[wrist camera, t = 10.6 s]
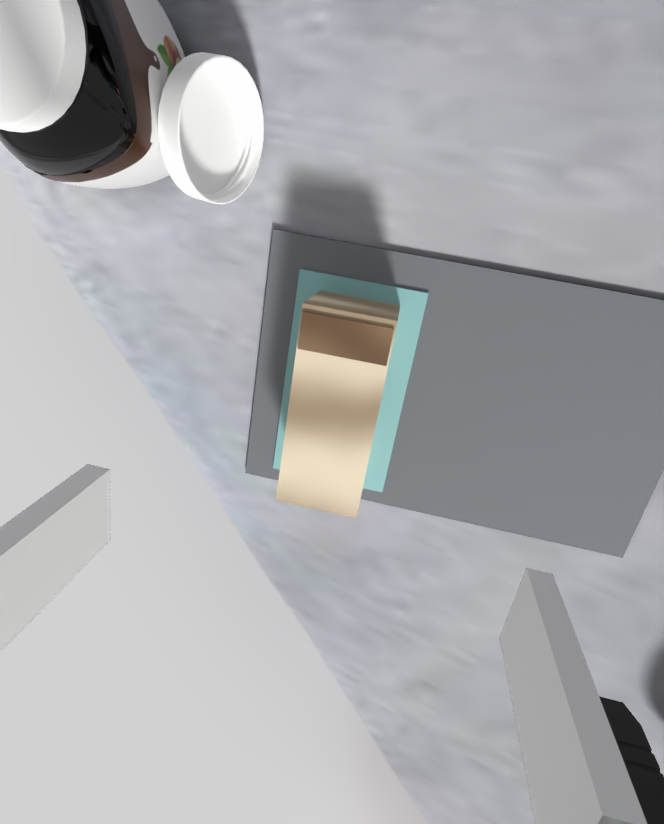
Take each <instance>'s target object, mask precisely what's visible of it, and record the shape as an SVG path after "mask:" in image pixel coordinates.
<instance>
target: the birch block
mask: <svg viewBox="0 0 664 824" xmlns="http://www.w3.org/2000/svg"><path fill="white" fill-rule="evenodd" d="M399 310H400V305H397V304H391V303H386V302H381V301H375V300H370V299H364V298H359V297H354V296H348V295H343V294H338V293H332V292H327V291H319V292H318V293H316V294H315V295H313V296H312V297H311V298H309V299H308V300H306V301H305V302H303V303H302V311H301V318H300V325H299V333H298V340H297V347H296V355H295V362H294V369H293V377H292V384H291V391H290V399H289V406H288V414H287V421H286V428H285V436H284V443H283V450H282V458H281V465H280V472H279V480H278V487H277V495H276V500H277V501H281V502H286V503H290V504H295V505H299V506H304V507H308V508H313V509H317V510H321V511H326V512H330V513H335V514H339V515H344V516H348V517H353V518H357V514H358V509H359V504H360V499H361V494H362V490H363V485H364V480H365V475H366V470H367V466H368V461H369V456H370V451H371V447H372V442H373V437H374V432H375V427H376V423H377V418H378V413H379V408H380V403H381V399H382V394H383V389H384V384H385V380H386V375H387V370H388V365H389V360H390V356H391V351H392V346H393V341H394V336H395V332H396V327H397V322H398V316H399Z"/></svg>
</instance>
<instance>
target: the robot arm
mask: <svg viewBox="0 0 664 824" xmlns="http://www.w3.org/2000/svg"><path fill="white" fill-rule="evenodd" d="M109 541H110V469H107V468H102V467H98V466H94V465H89V464H87V465H86V466H84V467H83V468H82V469H80V470H79V471H77V472H76V473H75V474H73V475H72V476H71V477H69V478H68V479H66V480H65V481H64V482H63V483H61V484H59V485H58V486H57V487H55V488H54V489H53V490H51V491H50V492H48V493H47V494H46V495H44V496H43V497H42V498H40V499H39V500H37V501H36V502H35V503H33V504H32V505H31V506H30V507H28V508H27V509H25V510H24V511H22V512H21V513H20V514H18V515H17V516H15V517H14V518H13V519H11V520H10V521H8V522H7V523H6V524H4V525H3V526H2V527H0V653H1V652H2V651H3V650H4V649H5V648H6V647H7V646H8V644H10V643H11V641H12V640H13V639H14V638H15V637H16V636H17V635H18V634H19V633H20V632H21V631H22V630H23V629H24V628H25V627H26V626H27V625H28V624H29V623H30V622H31V621H32V620H33V619H34V618H35V617H36V616H37V615H38V614H39V613H40V612H41V611H42V610H43V609H44V608H45V607H46V605H48V604H49V602H51V600H52V599H53V598H54V597H55V596H56V595H57V594H58V593H59V592H60V591H61V590H62V589H63V588H64V587H65V586H66V585H67V584H68V583H69V582H70V581H71V580H72V579H73V578H74V577H75V576H76V575H77V574H78V573H79V572H80V571H81V570H82V569H83V568H84V567H85V566H86V565H87V564H88V563H89V562H90V560H91V559H92V558H93V557H94V556H95V555H96V554H97V553H98V552H99V551H100V550H101V549H102V548H103V547H104V546H105V545H106V544H107V543H108V542H109ZM499 639H500V644H501V649H502V654H503V659H504V665H505V670H506V675H507V680H508V685H509V691H510V696H511V701H512V706H513V711H514V717H515V722H516V727H517V732H518V737H519V743H520V748H521V753H522V758H523V763H524V769H525V774H526V779H527V784H528V789H529V795H530V800H531V805H532V810H533V815H534V821H535V824H664V777H663V774H660V768H659V765H658V763H657V761H656V758H655V756H654V754H652V753H651V747H650V745H649V743H648V740H647V738H646V736H645V734H644V731H643V729H642V727H641V725H640V724H639V722H638V721H637V720H636V719H635V717H634V716H633V715H632V714H631V712H630V711H629V710H628V708H627V707H626V706H625V705H624V703H622V702H618V701H615V700H611V699H607V698H603V697H599V695H598V692H597V690H596V687H595V684H594V682H593V679H592V677H591V674H590V671H589V669H588V666H587V663H586V661H585V658H584V655H583V653H582V650H581V647H580V645H579V642H578V640H577V637H576V634H575V632H574V629H573V626H572V624H571V621H570V618H569V616H568V613H567V611H566V608H565V605H564V603H563V600H562V597H561V595H560V592H559V589H558V587H557V584H556V581H555V579H554V576H553V574H550V573H546V572H542V571H538V570H533V569H529V568H526V570H525V572H524V575H523V578H522V580H521V583H520V585H519V588H518V591H517V593H516V596H515V598H514V601H513V603H512V606H511V609H510V611H509V614H508V616H507V619H506V622H505V624H504V627H503V629H502V632H501V634H500V637H499Z"/></svg>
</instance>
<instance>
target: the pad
mask: <svg viewBox="0 0 664 824" xmlns="http://www.w3.org/2000/svg"><path fill="white" fill-rule="evenodd" d="M319 291H327V292H332V293H338V294H343V295H348V296H354V297H359V298H364V299H370V300H375V301H381V302H386V303H391V304H397V305H400V310H399V316H398V322H397V327H396V332H395V336H394V341H393V346H392V351H391V356H390V360H389V365H388V370H387V375H386V380H385V384H384V389H383V394H382V399H381V403H380V408H379V413H378V418H377V423H376V427H375V432H374V437H373V442H372V447H371V451H370V456H369V461H368V466H367V470H366V475H365V480H364V485H363V488H364V489H369V490H373V491H378V492H383V487H384V483H385V479H386V474H387V470H388V466H389V462H390V457H391V453H392V449H393V444H394V440H395V436H396V431H397V427H398V423H399V419H400V414H401V410H402V406H403V401H404V397H405V393H406V388H407V384H408V380H409V376H410V371H411V367H412V363H413V358H414V354H415V350H416V345H417V341H418V337H419V333H420V328H421V324H422V320H423V315H424V311H425V307H426V302H427V298H428V294H429V293H426V292H421V291H415V290H410V289H405V288H399V287H394V286H389V285H383V284H378V283H373V282H367V281H362V280H357V279H351V278H346V277H341V276H335V275H330V274H325V273H319V272H314V271H309V270H303V269H300V271H299V278H298V286H297V293H296V301H295V308H294V315H293V323H292V330H291V338H290V345H289V352H288V360H287V367H286V374H285V382H284V389H283V397H282V404H281V411H280V419H279V426H278V434H277V441H276V448H275V456H274V463H273V468H274V469H279V470H280V465H281V458H282V450H283V443H284V436H285V428H286V421H287V414H288V406H289V399H290V391H291V384H292V377H293V369H294V362H295V355H296V347H297V340H298V333H299V325H300V318H301V311H302V303H303V302H305V301H306V300H308V299H309V298H311V297H312V296H313V295H315V294H316V293H318V292H319Z"/></svg>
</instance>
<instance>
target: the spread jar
mask: <svg viewBox="0 0 664 824" xmlns="http://www.w3.org/2000/svg"><path fill="white" fill-rule="evenodd" d="M0 141H1V142H2V143H3V144H4V146H5V147H6V148H7V149H8V150H9V151H10V152H11V153H12V154H13V155H14V156H15V157H16V158H17V159H18V160H20V161H21V162H22V163H23V164H24V165H25V166H26V167H28V168H29V169H31V170H33V171H34V172H36V173H38V174H40V175H41V176H43V177H46V178H48V179H51V180H54V181H57V182H60V183H64V184H70V185H76V186H83V187H91V188H102V189H119V188H130V187H137V186H142V185H146V184H149V183H152V182H155V181H158V180H160V179H163V178H165V177H167V176H169V175H170V176H171V178H172V179H173V181H174V182H175V184H176V185H177V186H178V187H179V188H180V189H181V190H182V191H183V192H184V193H185V194H187V195H189V196H191V197H193V198H196V199H199V200H203V201H206V202H210V203H214V204H227V203H229V202H232V201H234V200H236V199H237V198H238V197H239V196H241V195H242V194H243V193H244V191H245V190H246V189H247V188H248V187H249V185H250V183H251V181H252V180H253V178H254V176H255V173H256V171H257V168H258V166H259V162H260V158H261V154H262V148H263V141H264V116H263V109H262V103H261V99H260V96H259V92H258V89H257V87H256V85H255V82H254V80H253V78H252V77H251V75H250V73H249V72H248V70H247V69H246V68H245V67H244V66H243V65H242V64H241V63H240V62H239V61H237V60H236V59H234V58H232V57H229V56H225V55H219V54H212V53H205V52H199V53H192V54H190V55H189V56H187V57H186V55H185V53H184V50H183V48H182V46H181V43H180V41H179V39H178V37H177V35H176V33H175V31H174V29H173V27H172V25H171V23H170V21H169V19H168V17H167V15H166V13H165V11H164V9H163V8H162V6H161V5H160V3H159V2H158V0H0Z"/></svg>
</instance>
